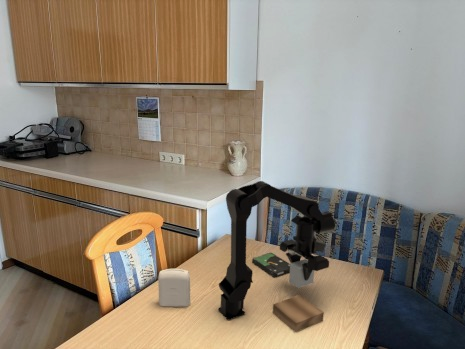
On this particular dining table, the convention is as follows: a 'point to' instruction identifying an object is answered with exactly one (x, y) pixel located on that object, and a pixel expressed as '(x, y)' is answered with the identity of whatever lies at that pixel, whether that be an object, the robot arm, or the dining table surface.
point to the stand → (298, 313)
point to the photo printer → (174, 288)
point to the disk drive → (272, 264)
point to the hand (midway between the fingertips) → (301, 277)
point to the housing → (299, 274)
